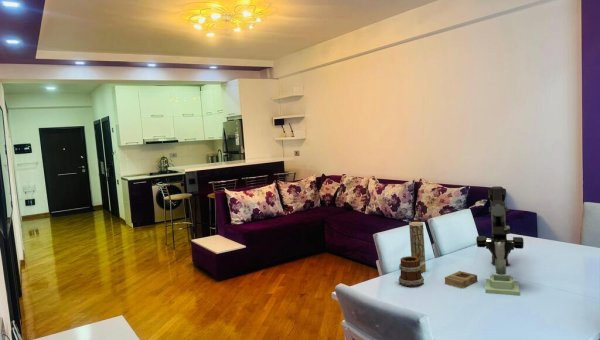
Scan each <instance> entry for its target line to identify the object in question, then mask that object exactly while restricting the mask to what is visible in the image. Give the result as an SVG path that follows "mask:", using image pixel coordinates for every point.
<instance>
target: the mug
mask: <svg viewBox="0 0 600 340" xmlns="http://www.w3.org/2000/svg"><path fill="white" fill-rule="evenodd" d="M398 269H399V270H400V275H399V277H398V282H399V283H400V285H402V286H404V287H407V288H417V287H420V286H423V284H424V281H425V278H424V276H423V275H422V273H421V269H422V265H421V264H420V258H419V252H416V254H415V256H414V257H412V256H411V255H410V256H409V255H408V256H403V257H401V258H400V263H399V266H398Z"/></svg>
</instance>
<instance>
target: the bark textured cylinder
mask: <svg viewBox="0 0 600 340" xmlns="http://www.w3.org/2000/svg"><path fill="white" fill-rule="evenodd" d="M408 224H409V225H408V227H409V242H410V256H412V257H414V256H415V254H416V252H419V258H420V264H421V265H422V269H421V274H422V273H425V272H426V270H427V269H426V253H425V251H426V250H425V234H424V233H425V232H424V222H421V221H412V222H411V221H410V222H409V223H408Z"/></svg>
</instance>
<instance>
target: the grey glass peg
mask: <svg viewBox="0 0 600 340" xmlns="http://www.w3.org/2000/svg"><path fill="white" fill-rule="evenodd" d="M495 264H496V265H495V275H507V266H506V261H505V242H504V241H495Z"/></svg>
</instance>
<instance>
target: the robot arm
mask: <svg viewBox="0 0 600 340" xmlns="http://www.w3.org/2000/svg"><path fill="white" fill-rule="evenodd" d="M487 193H488V194H487V195H488V198H489V201H490V206H489V207H488V215H490V216H491V238H488V237H487V236H486V235H478V236H476V238H475V239H476V246H477V247H478V248H485V249H486V250H489V252H490V254H491V264H492V265H494V266H496V264H495V241H504V242H505V261H506V267H507V266H510V263H509V261H508V260H509V258H508V257H509V255H510V254H511V251H514V249H518V250H519V249H520V250H522V249H524V246H525V245H524V243H525V242H524V238H523V237H522V236H513V237H512V239H508V237H507V234H511V227H510V225H506V223H507V222H506V215H508V214H509V211H510V210H509V209H508V207H507V206H506V203H505V202H506V198H507V189H506V188H503V186H501V185H499V186H492V187H491V188H489V189H488V191H487Z"/></svg>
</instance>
